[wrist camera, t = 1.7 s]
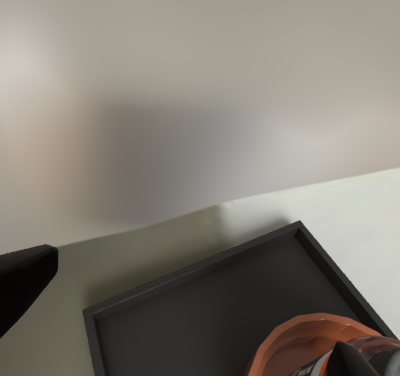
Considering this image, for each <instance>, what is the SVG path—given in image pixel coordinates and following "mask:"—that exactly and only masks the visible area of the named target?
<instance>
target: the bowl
mask: <svg viewBox="0 0 400 376" xmlns="http://www.w3.org/2000/svg"><path fill="white" fill-rule="evenodd" d="M370 335H377V336H382V335H381V334H380V333H378V332H376V331H375V330H373V329H371V328H369V327H367V326H365V325H363V324H361V323H359V322H357V321H355V320H353V319H350V318H347V317H342V316H337V315H332V314H327V313H315V314H306V315H298V316H296V317H294V318H292V319H290V320H288V321H286V322H285V323H283V324H281V325H279V326H277V327H276V328H275V329H274V330H273V331H272V332H271V333H270V335H269V336H268V337H267V338H266V339H265V340H264V342H263V343H262V344H261V345H260V346H259V348H258V349H257V350H256V351H255V353H254V354H253V355H252V357H251V358H250V360H249V361H248V363H247V366H246V369H245V371H244V374H243V376H291V375H292V374H293V373H294V372H295V371H296V370H297V369H299V368H301V367H302V366H304V365H306V364H308V363H310V362H311V361H313V360H315V359H316V358H318V357H320V356H321V355H323V354H325V353H327V352H328V351H330V350H331V349H333V348H334V346H335V344H336V343H337V342H338V341H343V342H346V341H348V340H350V339H354V338H357V337H360V336H370Z"/></svg>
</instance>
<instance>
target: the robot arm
mask: <svg viewBox="0 0 400 376" xmlns="http://www.w3.org/2000/svg"><path fill="white" fill-rule="evenodd" d="M57 270H58V249H57V248H56V247H53V246H50V245H47V244H45V245H41V246H36V247H32V248H28V249H24V250H19V251H15V252H11V253H7V254H3V255H0V339H1V338H2V336H3V335H4V334H5V333H6V332H7V331H8V330H9V329H10V328H11V327H12V326H13V325H14V324H15V323H16V322H17V321H18V320H19V319H20V318H21V317H22V316H23V314H24V313H25V312H26V311H27V310H28V309H29V307H30V306H31V305H32V304H33V302H34V301H35V300H36V299H37V297H38V296H39V295H40V294H41V292H42V291H43V290H44V289H45V288H46V286H47V285H48V284H49V283H50V281H51V280H52V279H53V278H54V276H55V275H56V273H57ZM326 374H327V376H380V375H379V374H378V373H377V372H376V371H375V369H374V368H373V367H372V366H371V365H370V364H369V362H368V361H367V360H366V359H365V358H364V356H363V355H362V354H361V353H360V352H359V350H358V349H357V348H356V347H355V346H354V345H352V344H349V343H346V342H343V341H338V342H337V343H336V344H335V346H334V348H333V350H332V353H331V355H330V357H329V359H328V361H327V366H326Z"/></svg>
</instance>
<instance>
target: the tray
mask: <svg viewBox="0 0 400 376" xmlns="http://www.w3.org/2000/svg"><path fill="white" fill-rule="evenodd" d="M315 313H327V314H332V315H337V316H342V317H347V318H350V319H353V320H355V321H357V322H359V323H361V324H363V325H365V326H367V327H369V328H371V329H373V330H375V331H376V332H378V333H380V334H381V335H382V336H384V337H389V338H393V339H396V340H398V338H397V337H396V336H395V335H394V334H393V332H392V331H391V330H390V329H389V327H388V326H387V325H386V324H385V323H384V321H383V320H382V319H381V318H380V317H379V315H378V314H377V313H376V312H375V311H374V309H373V308H372V307H371V306H370V304H369V303H368V302H367V301H366V300H365V298H364V297H363V296H362V295H361V294H360V292H359V291H358V290H357V289H356V288H355V286H354V285H353V284H352V283H351V281H350V280H349V279H348V278H347V277H346V275H345V274H344V273H343V272H342V271H341V269H340V268H339V267H338V266H337V265H336V263H335V262H334V261H333V260H332V258H331V257H330V256H329V255H328V254H327V252H326V251H325V250H324V249H323V248H322V246H321V245H320V244H319V243H318V242H317V240H316V239H315V238H314V237H313V235H312V234H311V233H310V232H309V231H308V229H307V228H306V227H305V226H304V225H303V223H302V222H301V221H300V220H299V221H297V222H294V223H292V224H290V225H287V226H285V227H282V228H280V229H277V230H275V231H273V232H270V233H268V234H265V235H263V236H261V237H258V238H256V239H253V240H251V241H248V242H246V243H244V244H241V245H239V246H236V247H234V248H231V249H229V250H227V251H224V252H222V253H219V254H217V255H215V256H212V257H210V258H207V259H205V260H202V261H200V262H198V263H195V264H193V265H190V266H188V267H185V268H183V269H181V270H178V271H176V272H173V273H171V274H168V275H166V276H164V277H161V278H159V279H156V280H154V281H152V282H149V283H147V284H144V285H142V286H139V287H137V288H135V289H132V290H130V291H127V292H125V293H122V294H120V295H118V296H115V297H113V298H110V299H108V300H106V301H103V302H101V303H98V304H96V305H93V306H91V307H89V308H86V309H84V310H83V316H84V321H85V326H86V332H87V337H88V342H89V347H90V352H91V358H92V363H93V368H94V373H95V376H243V374H244V371H245V369H246V366H247V363H248V361H249V360H250V358H251V357H252V355H253V354H254V353H255V351H256V350H257V349H258V348H259V346H260V345H261V344H262V343H263V342H264V340H265V339H266V338H267V337H268V336H269V335H270V333H271V332H272V331H273V330H274V329H275V328H276V327H277V326H279V325H281V324H283V323H285V322H286V321H288V320H290V319H292V318H294V317H296V316H298V315H306V314H315Z"/></svg>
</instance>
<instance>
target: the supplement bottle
mask: <svg viewBox="0 0 400 376" xmlns="http://www.w3.org/2000/svg"><path fill="white" fill-rule="evenodd" d="M346 343H349V344H352V345H354V346H355V347H356V348H357V349H358V350H359V352H360V353H361V354H362V355H363V356H364V358H365V359H366V360H367V361H368V362H369V364H370V365H371V366H372V367H373V368H374V369H375V371H376V372H377V373H378V374H379V375H380V376H400V341H399V340H396V339H393V338H389V337H384V336H377V335H370V336H360V337H357V338H354V339H350V340H348V341H346ZM332 350H333V349H331V350H330V351H328V352H327V353H325V354H323V355H321V356H320V357H318V358H316V359H315V360H313V361H311V362H310V363H308V364H306V365H304V366H302V367H301V368H299V369H297V370H296V371H295V372H294V373H293V374H292V375H291V376H327V374H326V366H327V361H328V359H329V357H330V355H331V353H332Z"/></svg>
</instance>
